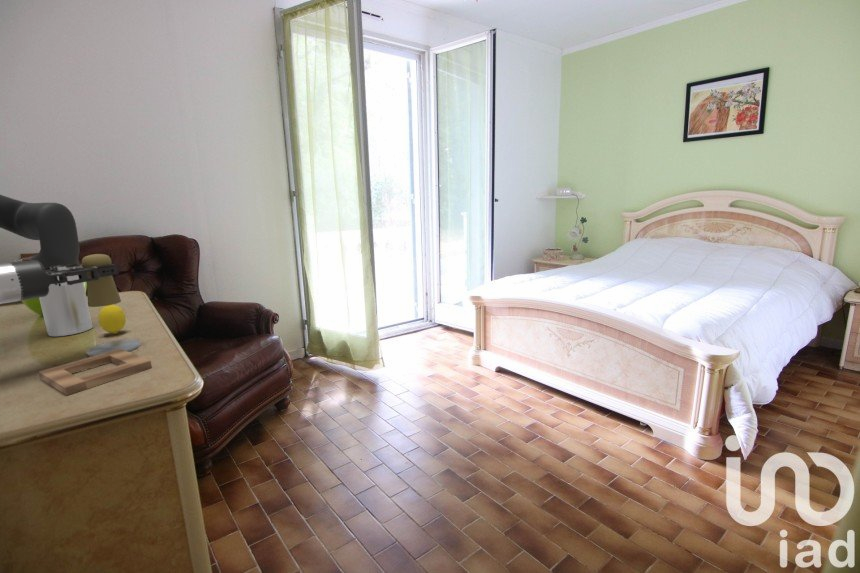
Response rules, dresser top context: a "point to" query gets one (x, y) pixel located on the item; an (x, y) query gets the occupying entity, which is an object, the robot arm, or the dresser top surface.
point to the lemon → (112, 318)
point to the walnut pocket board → (72, 384)
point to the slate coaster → (114, 346)
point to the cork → (100, 283)
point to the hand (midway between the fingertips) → (112, 268)
